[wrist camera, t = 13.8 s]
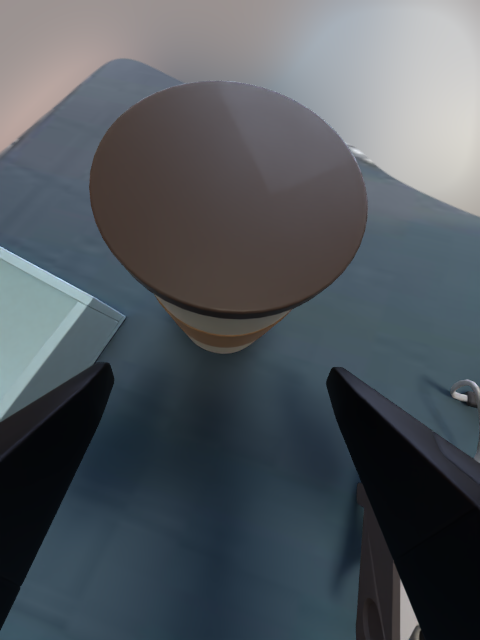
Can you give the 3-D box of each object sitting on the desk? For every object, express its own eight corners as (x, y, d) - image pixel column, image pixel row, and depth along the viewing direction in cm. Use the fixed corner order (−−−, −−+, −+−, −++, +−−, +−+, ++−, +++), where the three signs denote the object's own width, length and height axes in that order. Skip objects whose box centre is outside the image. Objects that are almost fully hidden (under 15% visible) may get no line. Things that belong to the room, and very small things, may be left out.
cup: (242, 372, 16) (306, 373, 5) (160, 327, 17) (17, 215, 5) (281, 295, 18) (400, 153, 6) (207, 255, 18) (189, 45, 7)
